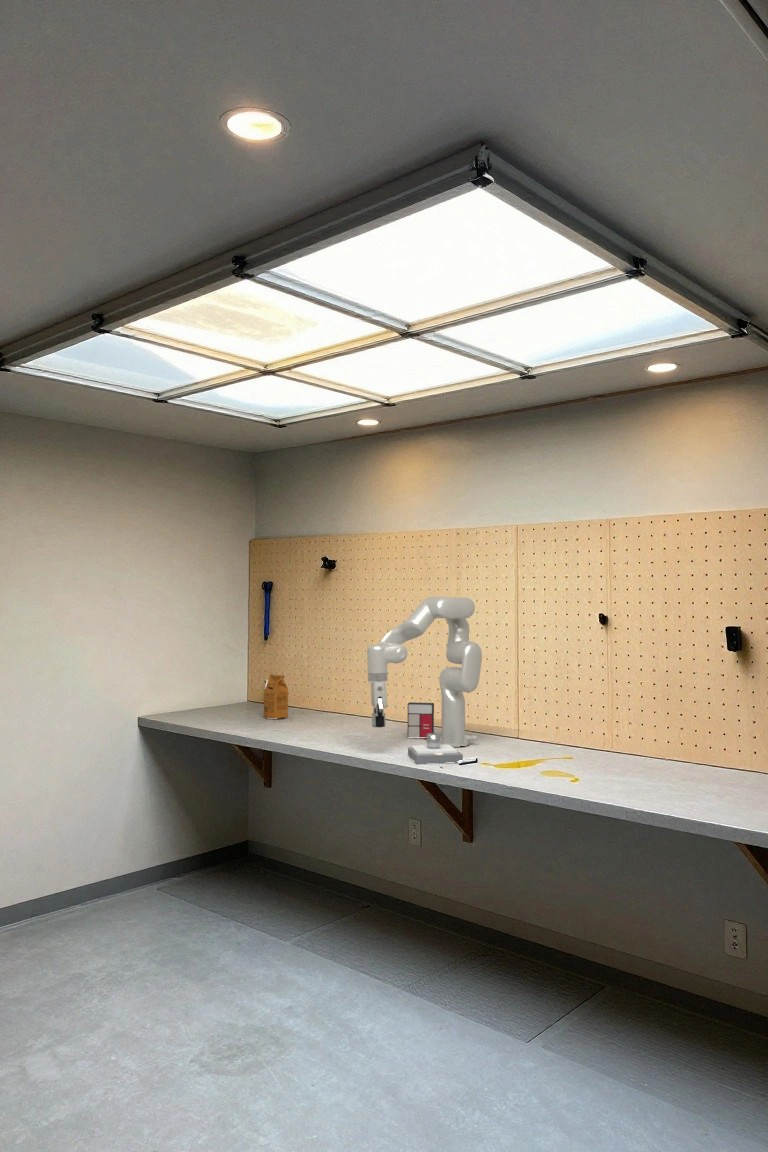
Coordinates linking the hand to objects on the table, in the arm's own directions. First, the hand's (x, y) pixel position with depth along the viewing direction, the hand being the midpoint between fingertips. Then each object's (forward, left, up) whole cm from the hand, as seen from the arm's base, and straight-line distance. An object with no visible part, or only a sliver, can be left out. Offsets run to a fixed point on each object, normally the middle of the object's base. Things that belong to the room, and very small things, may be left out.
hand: (378, 724), depth 313 cm
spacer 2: (-19, +9, -8) cm, 23 cm away
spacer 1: (0, 0, -1) cm, 1 cm away
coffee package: (+37, -107, -12) cm, 113 cm away
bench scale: (-19, +11, -11) cm, 25 cm away
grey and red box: (-23, -36, -12) cm, 44 cm away
